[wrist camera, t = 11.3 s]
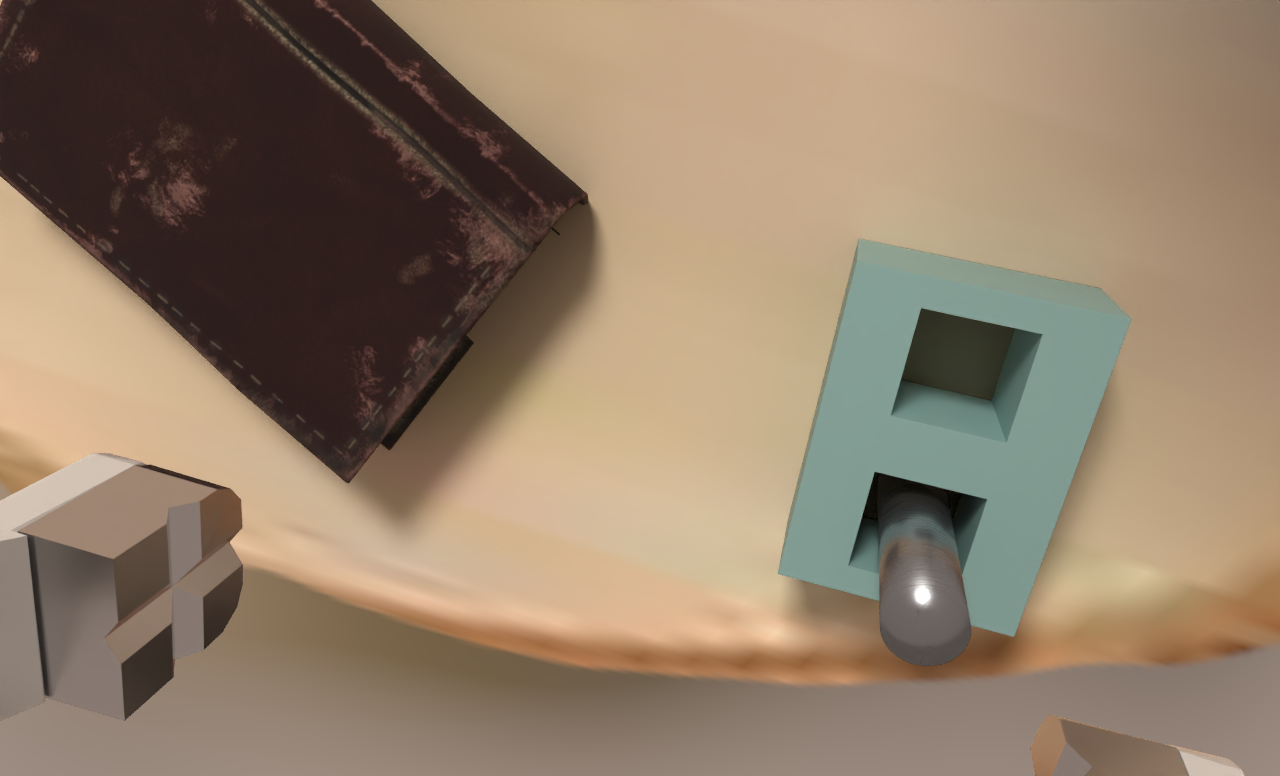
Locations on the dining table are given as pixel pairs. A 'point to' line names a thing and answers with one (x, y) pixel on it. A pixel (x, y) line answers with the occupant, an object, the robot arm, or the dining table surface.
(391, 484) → the dining table surface
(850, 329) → the hole block
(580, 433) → the dining table surface
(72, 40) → the diary
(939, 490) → the peg
